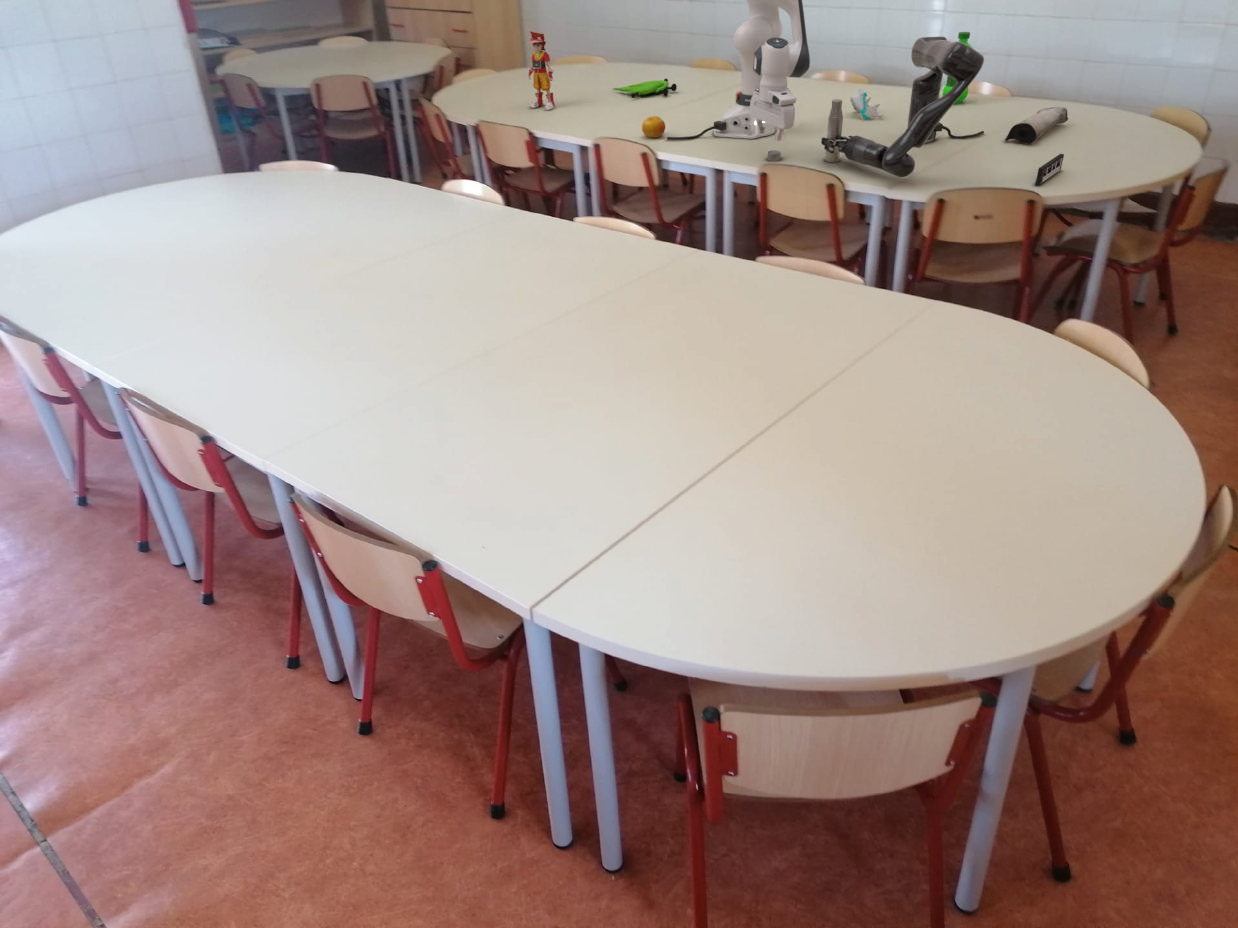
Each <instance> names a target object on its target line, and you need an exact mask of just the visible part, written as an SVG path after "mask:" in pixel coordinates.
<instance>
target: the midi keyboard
mask: <svg viewBox="0 0 1238 928" xmlns="http://www.w3.org/2000/svg"><path fill="white" fill-rule="evenodd" d="M1064 157H1065V153H1059V154H1058V155H1056V156H1055V157H1052V159H1051V160H1049V161H1047V162H1045V164H1042V165H1041V166H1039V167H1038V169H1037V175H1036V179H1035V186H1040V185H1042V183H1044V182H1045V181H1047V180H1048V179H1049V178H1051V177H1052V176H1054V175H1055V174H1056V173H1058V172H1060V171H1061V170H1062V165H1063V161H1064Z"/></svg>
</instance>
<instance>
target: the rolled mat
mask: <svg viewBox="0 0 1238 928" xmlns="http://www.w3.org/2000/svg"><path fill="white" fill-rule="evenodd" d="M1068 115H1069V114H1068V109H1067V108H1066V107H1060V106H1052V107H1047V108H1041V109H1039V110H1037V113H1035V114H1034V115H1031V116H1029V117H1027V118H1025V119H1023V120H1021V121H1019V122H1017V123H1016V124H1014V125H1013V126H1012V127H1011V128H1010V130H1009V131H1008V134H1007V135H1006V137H1005V138H1004V142H1009V141H1010V140H1011V141H1012V140H1016V141H1017V142H1018V143H1020V144H1023V145H1024V144H1025V145H1033V144H1034V143H1035V142H1036V141H1037V140H1038V139H1039V138H1040V137H1041V136H1042V135H1043V134H1044V133H1045V132H1046V131H1048V130H1049V129H1050V128H1052V127H1053V126H1054V125H1060V124H1065V123H1066V122H1068V121H1069V117H1068Z"/></svg>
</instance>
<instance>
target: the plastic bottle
mask: <svg viewBox="0 0 1238 928" xmlns="http://www.w3.org/2000/svg"><path fill="white" fill-rule="evenodd" d="M970 36H971V32H970V31H959V32H958V36H957V39H958V42H962V43H965V44H966V45H968V46H969V47H971V48H973V47H972V45H971V44H970V43H969V42H968V41H969V39H970V38H971V37H970ZM946 77H947V78H946V84H945V85H944V87H943V90H942V96H944V95H945V94H947V93H948V92H949V91H950V90H951V89H952V88H953V87H954V85H955V84H956V83H957V82H956V81H955V80H954V79H952V78H950V77H949V76H946ZM968 95H969V86H968V87H967V88H966V90H965V91H964V92H963V93H962V95H961V96H960V97H959V98H958V99H957V101H956V102H955V103H954V104H960V103H961V102H963V101H964V100H966V98H967V96H968Z"/></svg>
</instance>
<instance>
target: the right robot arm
mask: <svg viewBox="0 0 1238 928" xmlns="http://www.w3.org/2000/svg"><path fill="white" fill-rule="evenodd" d="M971 47H972V46H971ZM971 47H969V46H968V45H966V44H965V43H962V42H959V40H958V41H950V40H948V39H947V38H946V37H945V36H923V37H919V38H917V39H916V40H915V41H914V43H913V45H912V48H911V56H910V57H911V62H912V63H913V65H914V67H916V68H926V69H929V71H928V72H926V73H924V74H923V75H920V76H918V77H915V78H914V79H913V81H912V86H911V95H910V103H909V112H908V119H907V125H906V129H905V130H904V132H903V133H902V135H900V136H899V137H898V138H897V139H896V140H895V141H894V142H892V144H891V145H890V146H887V145H885V144H882V143H879V142H876V141H874V140H872V139H869V138H866V137H863V136H859V135H848V136H846V135H843V136H842V135H841V140H839V139H835V140H831V139H828V138H827V137H821V139H820V140H821V141H820V145H823V146H824V147H823V148H824V150H825V151H826V150H827V151H828V152H830V153H834V151H839V152H840V154H844V156H845V158H846V159H848V160H850V161H853V162H855V163H859V164H860V165H861V164H862V165H864V166H865V165H866V166H870V167H872V168H875V169H880V170H882V171H884V172H886V173H888V174H890V175H893V176H895V177H897V178H906V177H908V176H910V175H911V174H912V173H913V172H914V170H915V167H916V162H915V159H914V158H913V156H912V155H911V154H909V151H910V150H912V149H913V148H914V149H921V148H922V147H923V146H924V145H925V144H929V143H932V142H933V141H935V140H936V138H937V137H936V136H937V133H938V132H942V131H943V130H944V131H946V132H947V135H948V137H949V138H951V139H956V140H957V139H958V140H963V139H971V138H976V137H978V136H981V135H984V134H985V131H984V130H981V131H978V132H977V133H973V134H966V135H954V134H952V132H951V129H950V127H947V126H945V125H943V123H942V122H941V120H942V119H943V117H944V116H945V115H946V114H947V113H948V111H949V110H950V109H951V108H952V107H953V106H954V105H955V104H956V103H955V102H956V101H957V99H958V98H959V97H960V96H961V95H962V93H963V92H964V91H965V90H966V88H967V87H968V88H969V86H970V85H971V84H972V82H973V81H974V80H975V79H976V78H977V76H978V74H979V73H980V71H981V69H982V67H983V65H984V63H985V56H984V55H983V54H982V53H980V52H979V51H977V50H976V49H974V47H972V48H971ZM944 75H945V76H946V77H948V76H949V77H950V78H952V79H954V80H955V81H956V82H957V83H956V84H955V85H954V87H953V88H952V89H951V90H950V91H949V92H948V93H947V94H945V95H944V96H943V95H942V96H941V97H940V95H941V87H942V82H943V77H944ZM837 142H838V144H837ZM832 143H833V144H832Z"/></svg>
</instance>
